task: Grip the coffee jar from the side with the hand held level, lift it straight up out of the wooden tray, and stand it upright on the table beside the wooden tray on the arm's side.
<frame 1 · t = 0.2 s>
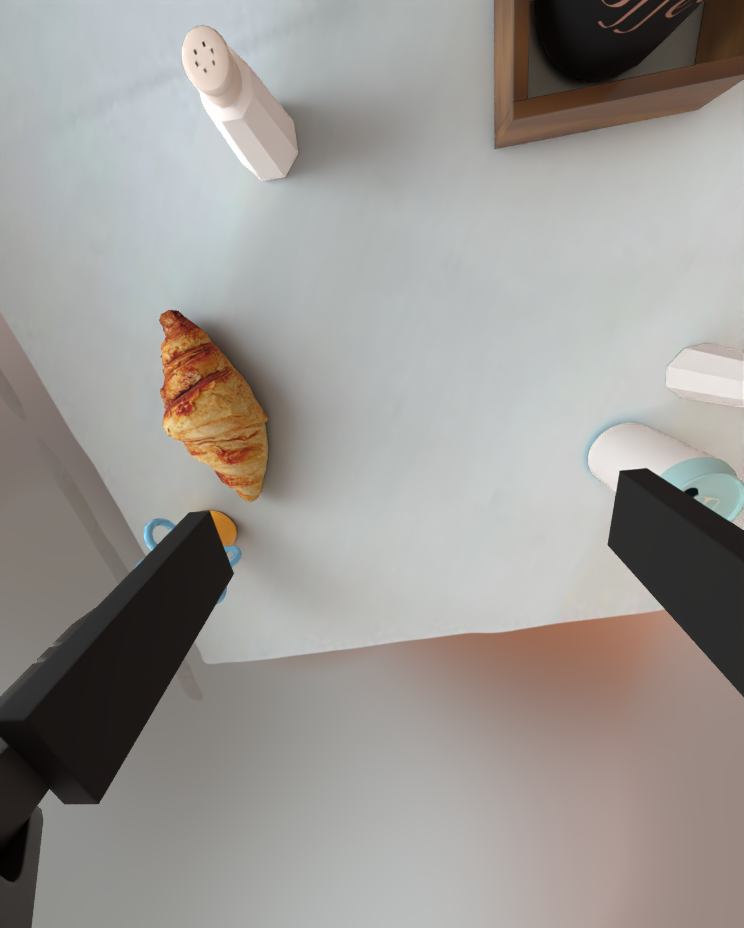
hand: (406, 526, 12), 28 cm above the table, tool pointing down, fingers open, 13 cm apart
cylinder: (215, 527, 46), on the table
can: (617, 450, 39), on the table
salt shaker: (690, 370, 35), on the table
pepper shaker: (268, 144, 30), on the table
croissant: (224, 411, 40), on the table
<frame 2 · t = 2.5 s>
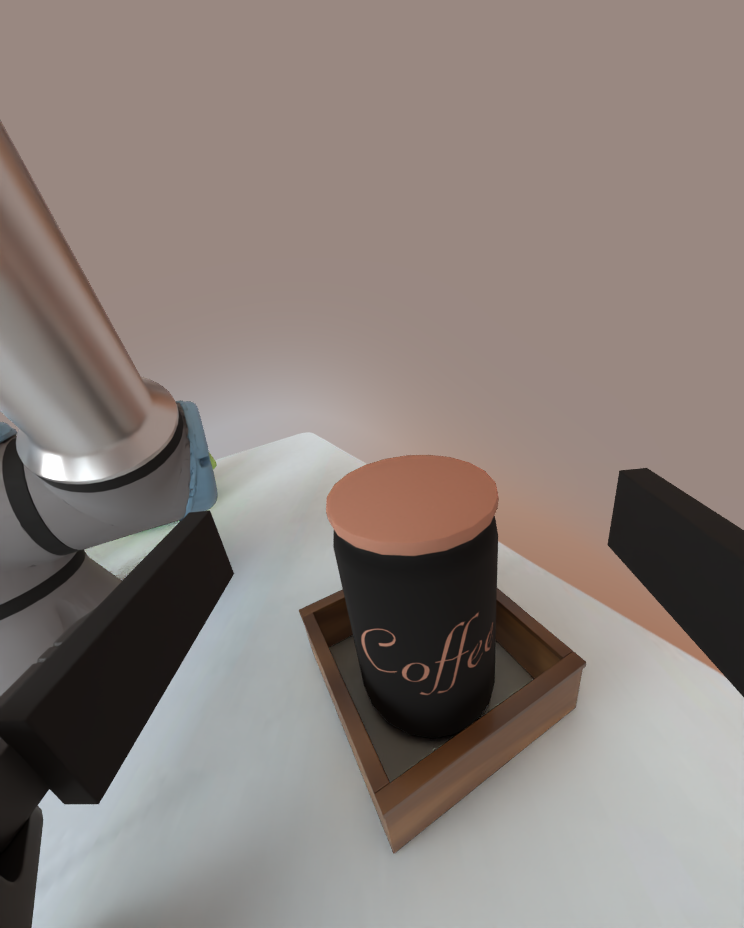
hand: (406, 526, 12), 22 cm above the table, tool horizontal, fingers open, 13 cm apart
wooden tray: (427, 674, 30), on the table
coffee jar: (427, 675, 30), resting in wooden tray
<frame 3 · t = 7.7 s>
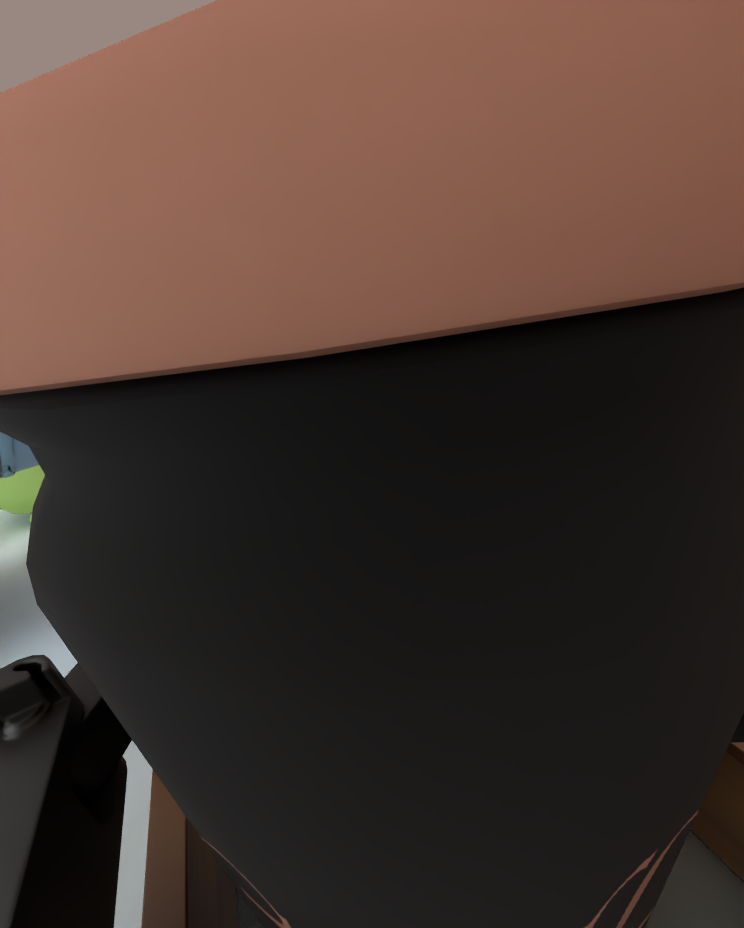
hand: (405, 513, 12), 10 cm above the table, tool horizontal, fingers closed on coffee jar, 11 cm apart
wooden tray: (438, 817, 13), on the table
coffee jar: (438, 819, 13), resting in wooden tray, touching gripper
teapot: (78, 500, 46), on the table
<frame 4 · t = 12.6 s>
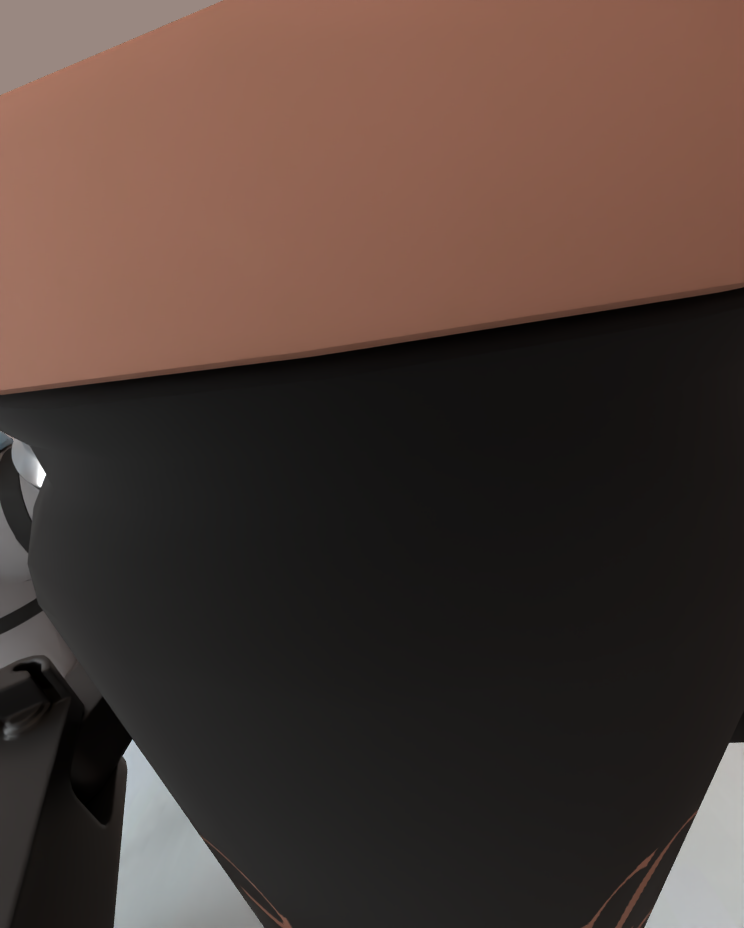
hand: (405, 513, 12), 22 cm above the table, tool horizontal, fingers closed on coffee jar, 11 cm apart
coffee jar: (438, 819, 13), point 11 cm above the table, touching gripper
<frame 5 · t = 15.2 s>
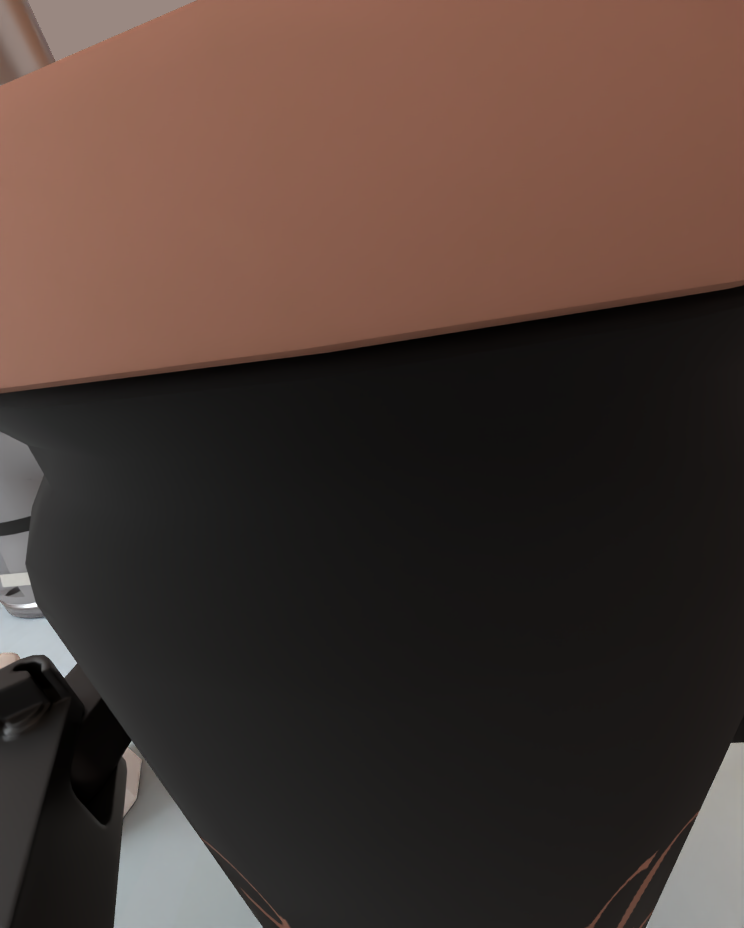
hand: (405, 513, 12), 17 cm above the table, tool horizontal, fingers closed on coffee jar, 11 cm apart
coffee jar: (438, 819, 13), point 6 cm above the table, touching gripper
pepper shaker: (92, 807, 20), on the table
when the fingers open (10 cm above the table, at t = 17.5 s): coffee jar stays where it is, on the table.
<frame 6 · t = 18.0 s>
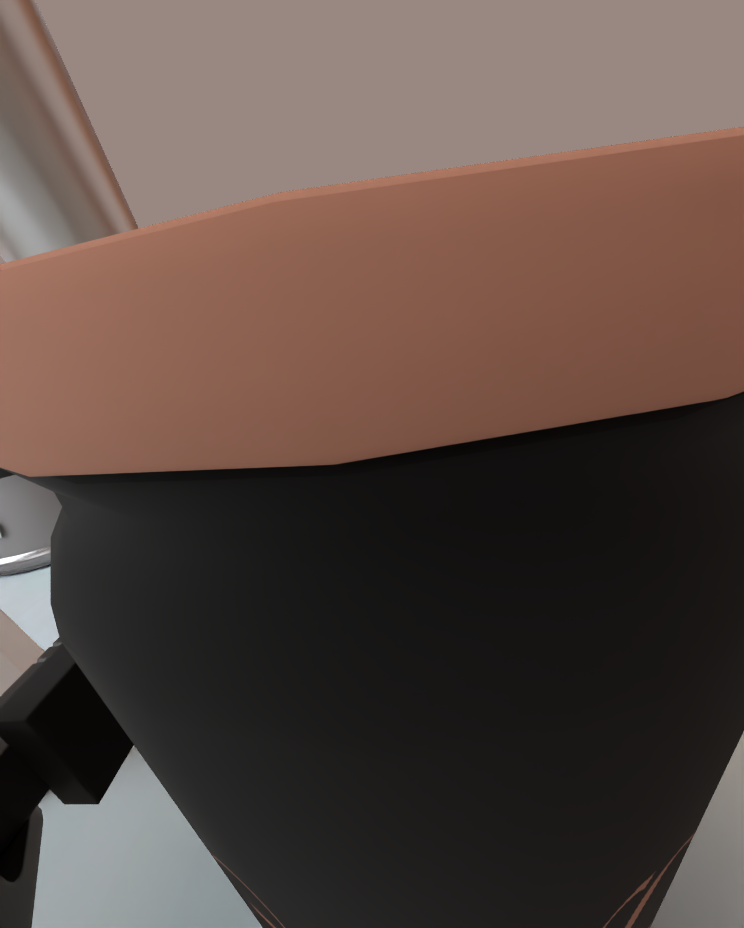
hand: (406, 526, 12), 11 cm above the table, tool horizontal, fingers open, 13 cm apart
coffee jar: (440, 826, 13), on the table
pepper shaker: (40, 754, 18), on the table
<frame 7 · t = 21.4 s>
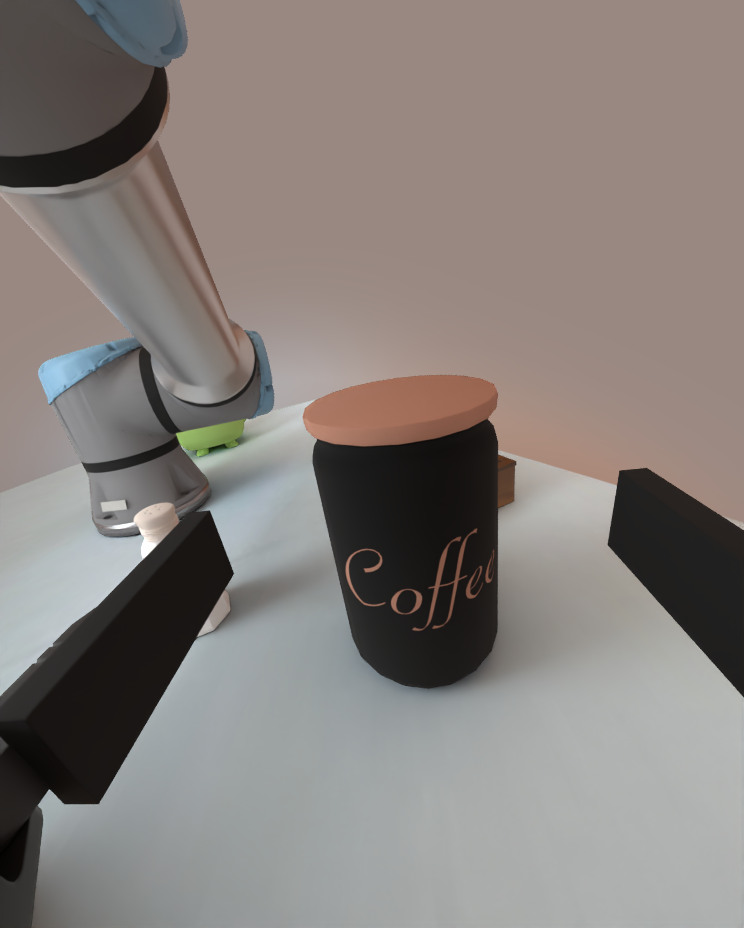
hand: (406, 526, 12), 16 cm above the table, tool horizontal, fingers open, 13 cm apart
wooden tray: (420, 497, 45), on the table
coffee jar: (423, 629, 27), on the table
teapot: (215, 447, 78), on the table
pepper shaker: (201, 617, 31), on the table
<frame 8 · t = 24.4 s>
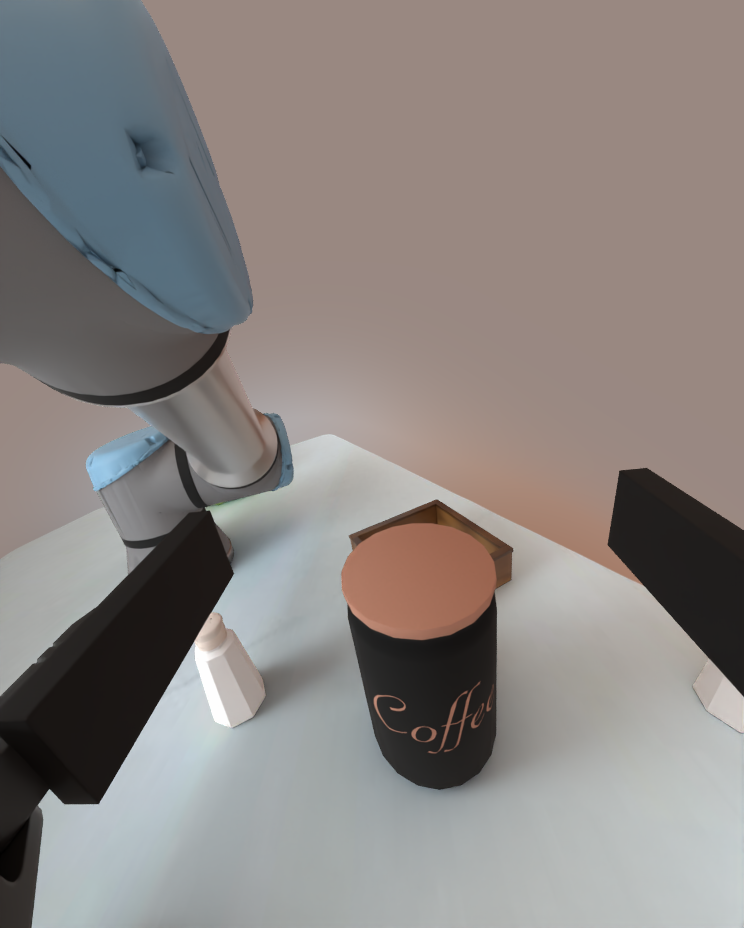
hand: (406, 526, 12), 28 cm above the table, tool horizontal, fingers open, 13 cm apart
wooden tray: (427, 570, 50), on the table
coffee jar: (433, 724, 32), on the table
salt shaker: (733, 704, 30), on the table
pepper shaker: (240, 701, 36), on the table
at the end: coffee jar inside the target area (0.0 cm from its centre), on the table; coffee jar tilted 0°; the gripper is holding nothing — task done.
